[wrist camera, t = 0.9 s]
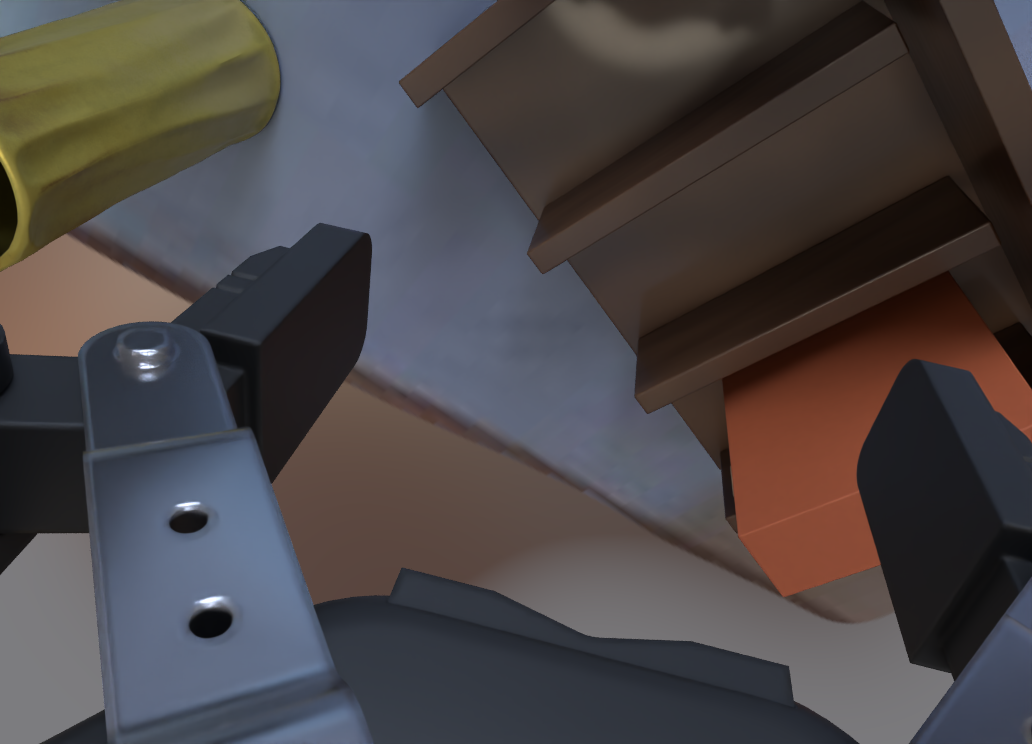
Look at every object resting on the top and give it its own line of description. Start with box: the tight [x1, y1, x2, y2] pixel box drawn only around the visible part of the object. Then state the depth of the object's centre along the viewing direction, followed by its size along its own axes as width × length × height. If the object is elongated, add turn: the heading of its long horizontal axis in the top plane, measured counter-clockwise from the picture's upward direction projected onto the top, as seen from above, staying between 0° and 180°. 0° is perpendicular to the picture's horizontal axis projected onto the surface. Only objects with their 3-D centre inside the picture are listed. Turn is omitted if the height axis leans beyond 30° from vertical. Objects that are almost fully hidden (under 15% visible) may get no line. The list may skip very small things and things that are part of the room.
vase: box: [0, 0, 280, 272], centre depth 25 cm, size 6×6×14 cm
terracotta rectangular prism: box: [722, 271, 1032, 597], centre depth 28 cm, size 3×9×11 cm, turn 127°
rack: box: [399, 0, 1032, 533], centre depth 27 cm, size 22×15×9 cm
